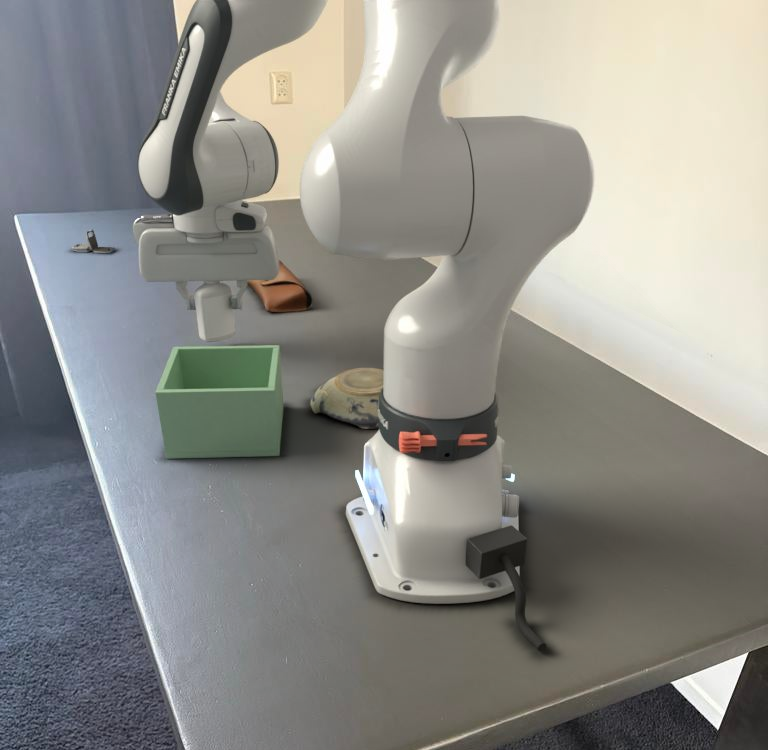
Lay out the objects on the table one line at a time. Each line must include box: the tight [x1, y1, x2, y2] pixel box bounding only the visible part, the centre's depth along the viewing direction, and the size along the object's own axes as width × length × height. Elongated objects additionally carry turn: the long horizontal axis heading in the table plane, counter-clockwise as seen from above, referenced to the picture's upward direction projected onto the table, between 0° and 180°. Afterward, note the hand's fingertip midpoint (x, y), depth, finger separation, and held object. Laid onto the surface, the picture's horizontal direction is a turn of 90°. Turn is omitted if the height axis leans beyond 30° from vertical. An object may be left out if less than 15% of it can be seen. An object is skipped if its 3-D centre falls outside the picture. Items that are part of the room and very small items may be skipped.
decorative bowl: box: [309, 367, 384, 430], centre depth 108 cm, size 15×4×15 cm
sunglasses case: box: [247, 259, 313, 313], centre depth 144 cm, size 18×7×7 cm, turn 22°
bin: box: [154, 344, 284, 460], centre depth 99 cm, size 14×14×9 cm
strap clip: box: [71, 228, 115, 254], centre depth 166 cm, size 8×3×4 cm, turn 81°
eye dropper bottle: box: [193, 281, 237, 343], centre depth 120 cm, size 4×6×12 cm
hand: (215, 308), depth 121 cm, fingers closed on eye dropper bottle, 5 cm apart
